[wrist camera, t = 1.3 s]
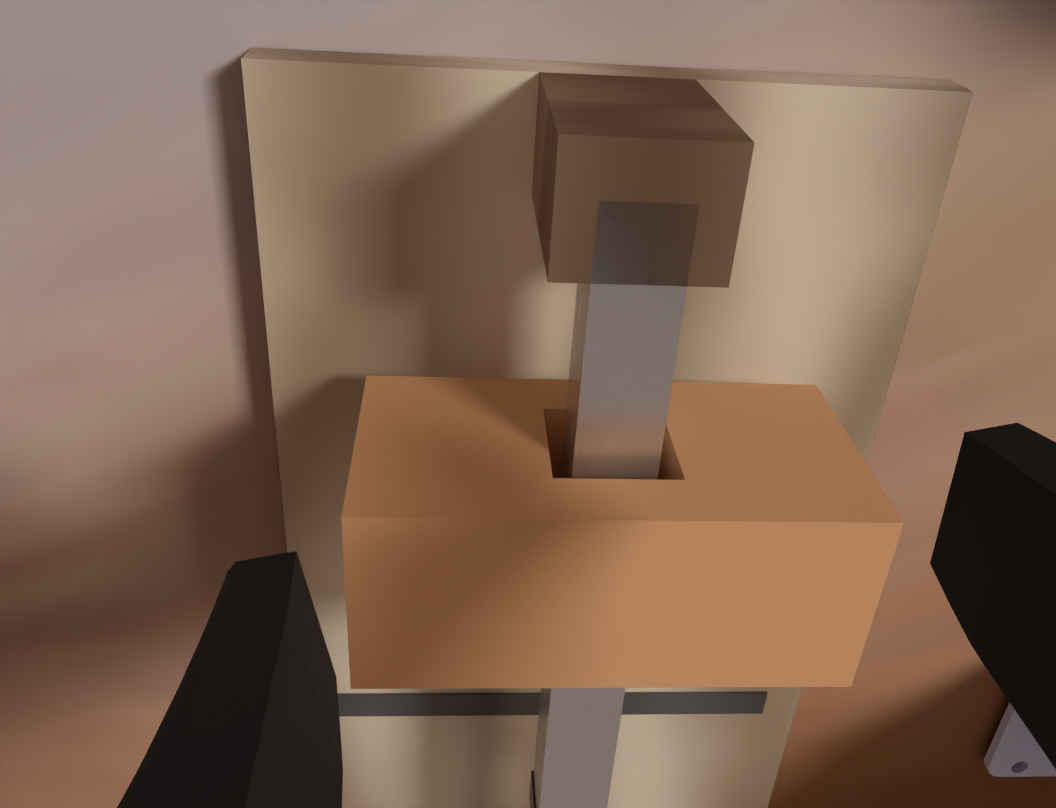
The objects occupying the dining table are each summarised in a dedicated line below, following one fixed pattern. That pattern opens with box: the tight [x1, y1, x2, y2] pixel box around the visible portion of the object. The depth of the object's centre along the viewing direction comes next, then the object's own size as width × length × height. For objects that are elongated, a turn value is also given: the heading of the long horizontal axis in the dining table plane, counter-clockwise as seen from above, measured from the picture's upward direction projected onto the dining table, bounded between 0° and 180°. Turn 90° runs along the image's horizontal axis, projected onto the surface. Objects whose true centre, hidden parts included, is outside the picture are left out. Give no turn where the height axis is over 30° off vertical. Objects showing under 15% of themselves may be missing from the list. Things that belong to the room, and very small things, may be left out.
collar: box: [341, 375, 904, 689], centre depth 19 cm, size 10×4×5 cm, turn 87°
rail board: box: [241, 48, 973, 808], centre depth 23 cm, size 14×24×5 cm, turn 177°
